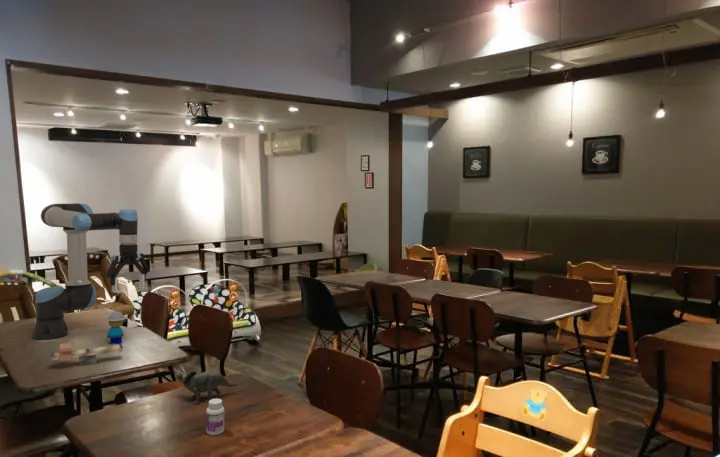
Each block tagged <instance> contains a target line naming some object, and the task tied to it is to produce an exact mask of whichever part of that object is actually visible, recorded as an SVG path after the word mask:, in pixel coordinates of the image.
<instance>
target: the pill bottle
mask: <svg viewBox="0 0 720 457" xmlns="http://www.w3.org/2000/svg"><path fill="white" fill-rule="evenodd" d="M205 413H206V414H205V423H206V424H205V426H206V427H205V429H206V434H208V435H211V436H217V435H221V434H222V433H223V432H224V431H225V407H224V406H223V400H222V398H211V400H210V401H209V402H208V407H207V408H206V412H205Z"/></svg>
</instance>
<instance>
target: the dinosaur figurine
mask: <svg viewBox="0 0 720 457" xmlns="http://www.w3.org/2000/svg"><path fill="white" fill-rule="evenodd" d="M179 366H180V368H181V370H182V371H180V370H177V369H176V368H175V367H174V371H175V372H176V375H175V379H176V381H177V382H180V384H182V385H183V386H184V388H185V389H187V390H188V391H189V392H191V393H193V394H194V395H191V396H190V398H191V400H192V399H193V400H194V399H195V400H194V401H193V402H192V404H193V405H198V404H199V405H200V398H201V394H202V393H207V397H206V399H204V402H206V403H207V402H208V403H209V401H210V400H211V399H213V398H212V397H213V392H214V393H215V394H216V396H215V399H220V397H221V396H222V393H221V390H220V389H218V388H219V386H220V387H236V386H239V383H231V382H229V381H228V380H227V379H226V378H225V376H224V375H223V374H222V373H220V372H217V371H214V370H213V371H212V370H211V371H210V370H206V371H203V372H201V373H198V372H197V371H196V370H190V371H189V372H188V373H187V372H186V371H185V370H186V369H185V368H184V367H183V366H182V365H179Z"/></svg>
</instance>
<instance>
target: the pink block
mask: <svg viewBox="0 0 720 457" xmlns="http://www.w3.org/2000/svg"><path fill="white" fill-rule="evenodd" d="M72 351H73V350H72V344H71V342H66V343H60V344H59V352H60V359H59V361H60V362H65V361H71V360H72V359H73V358H72Z"/></svg>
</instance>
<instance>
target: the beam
mask: <svg viewBox="0 0 720 457" xmlns="http://www.w3.org/2000/svg"><path fill="white" fill-rule="evenodd" d="M123 348H124V347H123V345H122V343H120V344H114V345H110V346H109V345H108V346H100V347H99V346H98V347H90V348H82V349H76V350H72V359H73V358H78V360H79V361H78V362H79V367H83V366H91V365H97V355H105V354H113V353H119V352H123V351H124V350H123ZM50 355H51V357H50V358H51V361H58V360H59V361H60V351H59V352H54V351H51V352H50Z"/></svg>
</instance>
